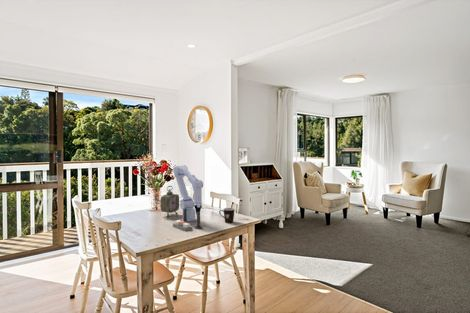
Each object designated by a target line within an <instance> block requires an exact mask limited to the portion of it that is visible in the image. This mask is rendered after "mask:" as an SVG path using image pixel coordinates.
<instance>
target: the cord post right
mask: <svg viewBox="0 0 470 313" xmlns="http://www.w3.org/2000/svg"><path fill="white" fill-rule="evenodd" d="M194 229H196V230H202V229H203V226H202V225H201V211H200V212H198V213H197V215H196V226H194Z"/></svg>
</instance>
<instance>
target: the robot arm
mask: <svg viewBox="0 0 470 313" xmlns="http://www.w3.org/2000/svg"><path fill="white" fill-rule="evenodd" d="M172 171H173V176H174V178H175V179H176V182H177V186H178V189H179V192H180V196H181V199H179V208H180V209H181V210H183V209H186V213H187V221H188V223H189V222H192V221H197V218H196V216H197V213H198V212H200V213H201V209H202V208H203V206H202V205H203V200H202V199H203V197H202V196H203V195H202V194H203V193H202V189H203V187H204V182H203V181H202V180H200V179H198V178H197V176H196V175H195V174H191V172H190V171H189V169H188V166H187V165H185V164H183V165H174V167H173V170H172ZM184 177H186V178H187V180H188V182H189V183H190V184H191V186H192V191H193V197H192V196H190V195H189V194H188V190H187V187H186V183H185V181H184ZM180 221H183V218H182V219H180Z"/></svg>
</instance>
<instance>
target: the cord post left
mask: <svg viewBox="0 0 470 313" xmlns="http://www.w3.org/2000/svg"><path fill="white" fill-rule="evenodd" d="M182 219H183V221H185V222H186V223H189V222H188V221H187V213H186V209H182Z"/></svg>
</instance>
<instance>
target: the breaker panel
mask: <svg viewBox="0 0 470 313" xmlns="http://www.w3.org/2000/svg"><path fill="white" fill-rule="evenodd" d="M180 221H181V219H178V220H174V223H172V227H173V228H176V229H179V230H181V231H183V232H189V231H192V230H193V226H192V225H190V224H191V223H189V222H188V223H183V225H179V222H180Z"/></svg>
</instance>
